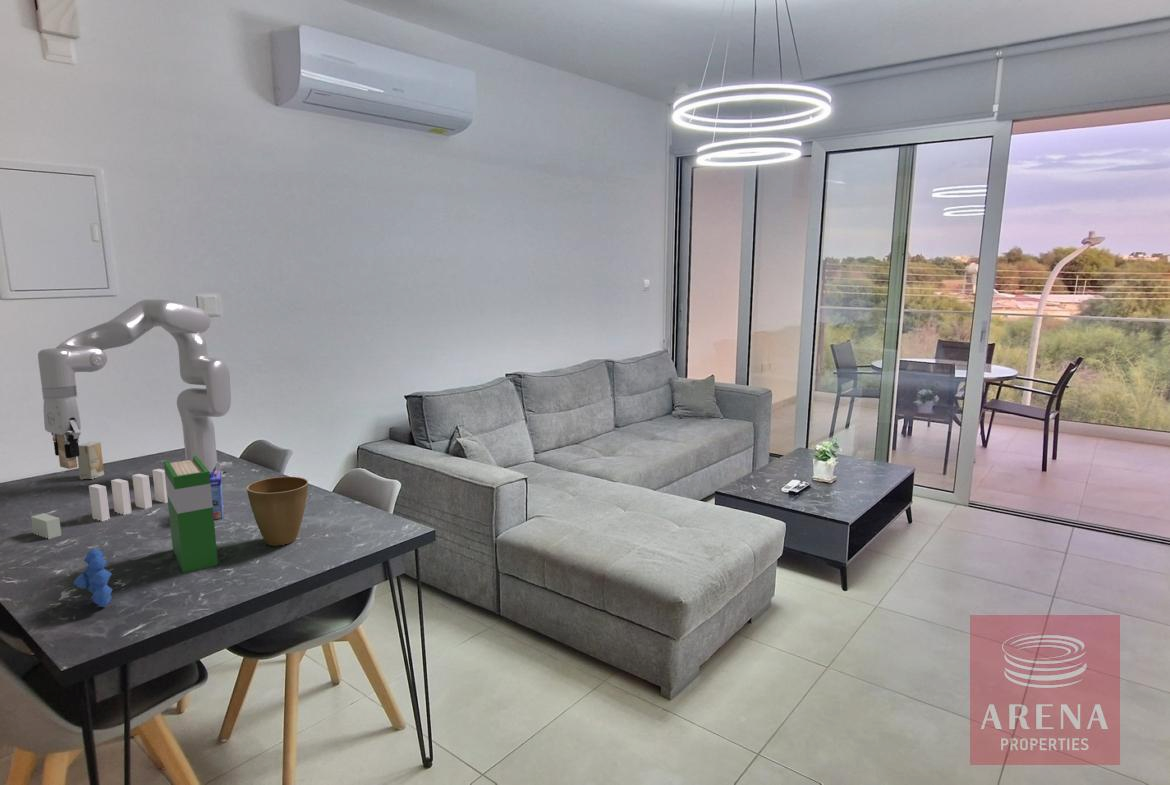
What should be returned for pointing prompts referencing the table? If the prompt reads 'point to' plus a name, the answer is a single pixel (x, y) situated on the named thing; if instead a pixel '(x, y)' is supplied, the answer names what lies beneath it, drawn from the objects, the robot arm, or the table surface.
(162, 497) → the domino
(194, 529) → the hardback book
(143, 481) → the domino
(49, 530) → the block
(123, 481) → the domino
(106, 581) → the grapes
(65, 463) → the domino
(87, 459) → the skincare box
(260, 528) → the plant pot
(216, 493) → the ink cartridge box
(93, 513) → the domino
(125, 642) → the table surface
